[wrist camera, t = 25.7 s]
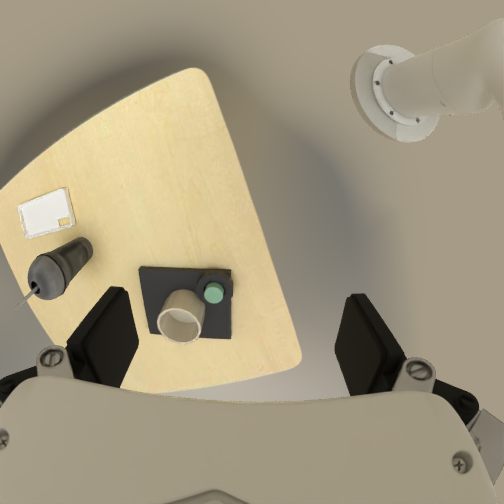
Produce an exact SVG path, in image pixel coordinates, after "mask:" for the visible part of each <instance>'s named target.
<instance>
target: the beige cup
mask: <svg viewBox="0 0 504 504" xmlns="http://www.w3.org/2000/svg"><path fill="white" fill-rule="evenodd" d="M205 310H206V308H205V303H203V302H202V301H201V300H200V298H199V297H198V295H197V294H196V293H195V292H192V291H190V290H185V289H181V290H176V291H174V292H172V293H171V294H170V295H169V296H168V298H167V299H166V301H165V303H164V306H163V308H162V310H161V312H160V314H159V317H158V320H157V325H158V329H159V331H160V332H161V334H162V335H163V336H164V337H165V338H167V339H168V340H170V341H172V342H175V343H178V344H188V343H192V342H194V341H195V340H196V339H198V338H199V335H200V333H201V330H202V325H203V321H204V317H205Z"/></svg>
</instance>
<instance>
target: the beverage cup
mask: <svg viewBox="0 0 504 504" xmlns="http://www.w3.org/2000/svg"><path fill="white" fill-rule="evenodd" d="M92 254H93V249H92V246H91V244H90V242H89V241H88V240H87V239H85V238H78V239H75V240H73V241H71V242H69V243H67V244H65V245H63V246H61V247H59V248H57V249H55V250H53V251H51V252H47V253H44V254H40V255H39V256H37V257H36V259H35V260H34V261H33V262H32V264H31V266H30V268H29V271H28V284H29V287H30V289H31V292H30V293H29V294H28V295H27V296H26V297H25V298H24V299H23V300H22V301H21V302H20V303H19V304H18V305H17V306H16V309H19V308H20V307H21V305H22V304H23V303H24V302H25V301H26V300H27V299H28V298H29V297H30V296H31V295H32V294H33V293H34V294H35V295H36V296H37V297H39V298H41V299H44V300H52V299H55V298H57V297H59V296H60V295H62V294H63V293H64V292H65V289H66V288H67V286H68V285H69V282H70V281H71V280H72V279H73V278H74V276H75V275H76V274H77V273H78V272H79V271H80V270H81V268H82V267H83V266H84V265H85V264H86V263H87V262H88V260H89V259H90V258H91V257H92Z"/></svg>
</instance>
